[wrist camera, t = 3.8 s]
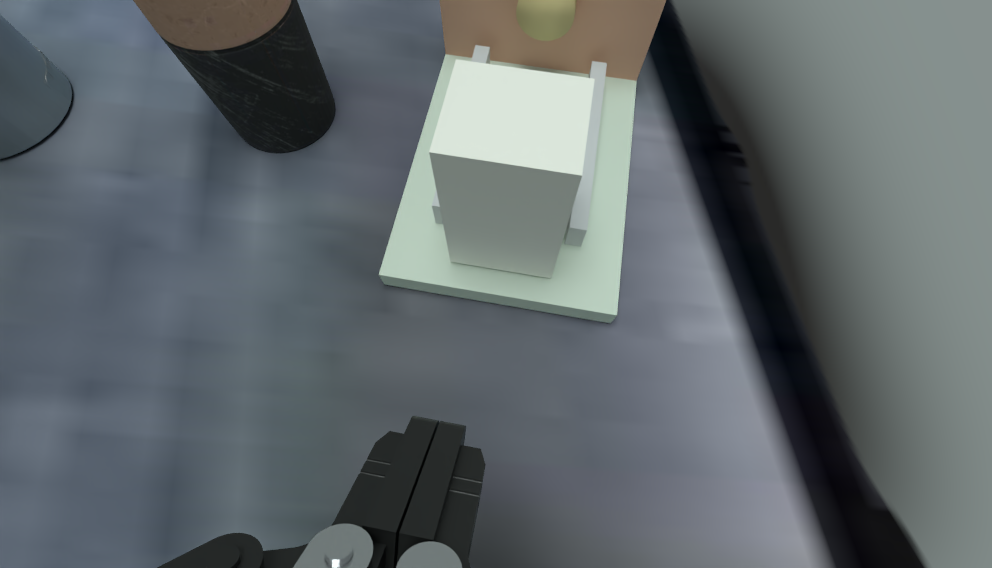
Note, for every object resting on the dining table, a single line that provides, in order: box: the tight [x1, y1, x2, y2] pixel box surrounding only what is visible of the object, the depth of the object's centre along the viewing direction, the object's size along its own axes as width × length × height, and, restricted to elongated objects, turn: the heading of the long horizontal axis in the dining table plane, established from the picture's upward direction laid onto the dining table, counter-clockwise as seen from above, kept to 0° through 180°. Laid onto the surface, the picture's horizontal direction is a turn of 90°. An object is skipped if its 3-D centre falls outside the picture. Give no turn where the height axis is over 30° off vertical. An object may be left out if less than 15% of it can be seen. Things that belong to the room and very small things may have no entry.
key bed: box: [379, 0, 666, 323], centre depth 27 cm, size 22×14×12 cm, turn 170°
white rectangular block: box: [429, 59, 595, 278], centre depth 23 cm, size 5×6×10 cm
